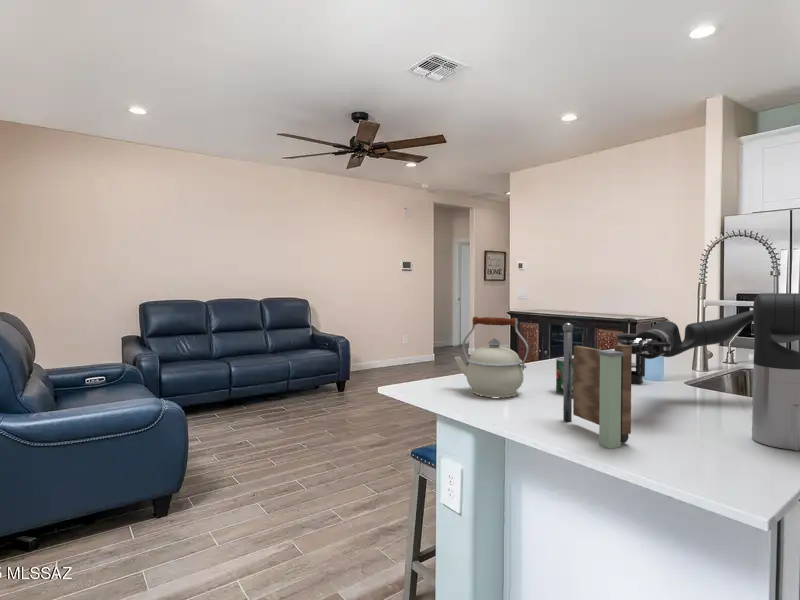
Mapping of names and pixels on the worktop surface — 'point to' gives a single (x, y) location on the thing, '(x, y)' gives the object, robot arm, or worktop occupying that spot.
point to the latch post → (610, 398)
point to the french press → (640, 372)
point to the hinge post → (567, 372)
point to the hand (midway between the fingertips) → (633, 349)
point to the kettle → (493, 364)
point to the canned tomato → (561, 376)
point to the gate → (589, 386)
